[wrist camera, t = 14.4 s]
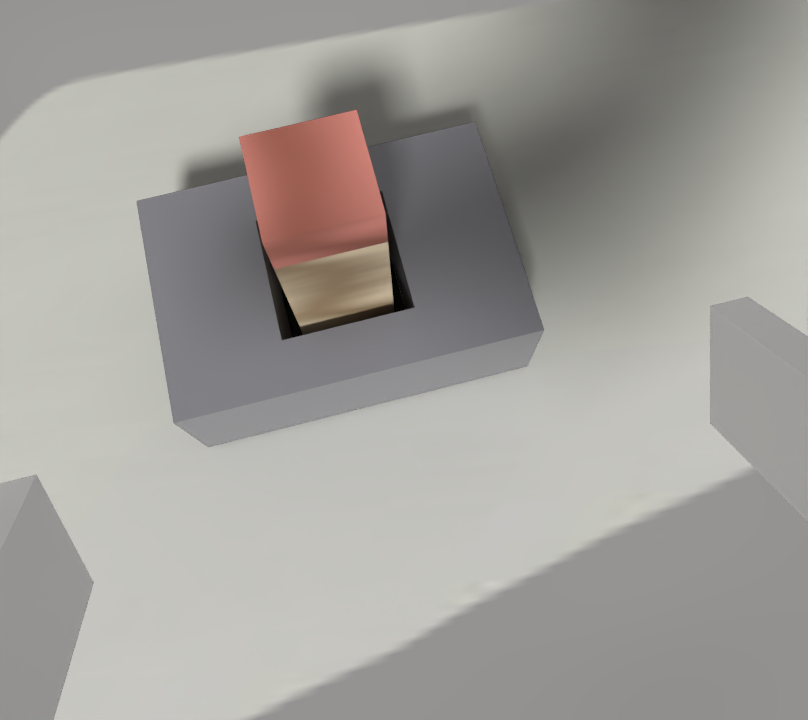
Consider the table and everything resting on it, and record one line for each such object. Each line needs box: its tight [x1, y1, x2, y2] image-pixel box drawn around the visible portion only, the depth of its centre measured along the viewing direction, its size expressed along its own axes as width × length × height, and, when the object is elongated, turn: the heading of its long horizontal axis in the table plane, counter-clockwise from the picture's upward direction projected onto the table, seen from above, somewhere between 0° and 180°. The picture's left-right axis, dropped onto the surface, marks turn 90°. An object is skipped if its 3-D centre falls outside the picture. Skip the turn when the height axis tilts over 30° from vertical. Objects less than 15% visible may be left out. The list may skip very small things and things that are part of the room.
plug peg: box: [239, 110, 394, 335], centre depth 30 cm, size 4×4×12 cm
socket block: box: [137, 122, 544, 447], centre depth 33 cm, size 15×10×5 cm, turn 104°
